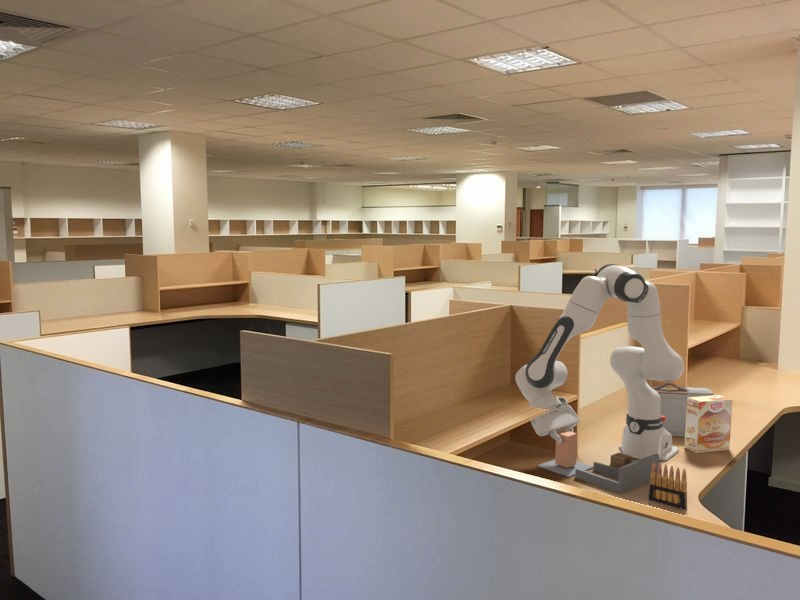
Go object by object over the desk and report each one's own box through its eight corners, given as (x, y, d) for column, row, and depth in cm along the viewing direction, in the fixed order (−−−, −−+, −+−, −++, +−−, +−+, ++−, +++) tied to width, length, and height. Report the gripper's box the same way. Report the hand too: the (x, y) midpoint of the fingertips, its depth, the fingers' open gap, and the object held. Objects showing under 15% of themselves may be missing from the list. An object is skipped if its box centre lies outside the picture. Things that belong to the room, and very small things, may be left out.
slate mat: (562, 457, 236) (562, 456, 236) (593, 467, 226) (593, 466, 226) (537, 466, 227) (537, 465, 227) (568, 477, 217) (568, 476, 217)
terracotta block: (564, 460, 230) (565, 430, 229) (576, 464, 226) (577, 433, 225) (555, 463, 227) (556, 432, 226) (567, 468, 223) (568, 436, 222)
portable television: (711, 438, 258) (715, 363, 255) (647, 434, 263) (651, 360, 260) (704, 429, 270) (707, 357, 267) (643, 425, 275) (646, 355, 272)
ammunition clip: (648, 500, 199) (649, 461, 198) (650, 498, 201) (652, 460, 199) (684, 509, 192) (686, 470, 191) (687, 507, 194) (688, 468, 192)
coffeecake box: (697, 453, 240) (699, 401, 238) (683, 447, 247) (686, 396, 245) (730, 450, 245) (733, 398, 243) (716, 444, 251) (719, 394, 249)
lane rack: (612, 463, 230) (612, 441, 229) (657, 478, 217) (658, 454, 216) (575, 477, 217) (575, 454, 216) (621, 493, 204) (622, 468, 203)
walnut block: (618, 469, 225) (619, 452, 224) (631, 473, 221) (632, 456, 220) (610, 472, 222) (610, 455, 221) (623, 477, 218) (624, 459, 217)
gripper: (531, 407, 223) (554, 442, 217) (568, 397, 236) (591, 430, 229) (521, 417, 227) (543, 452, 221) (558, 407, 240) (580, 439, 233)
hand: (567, 441), depth 225 cm, fingers closed on terracotta block, 5 cm apart
